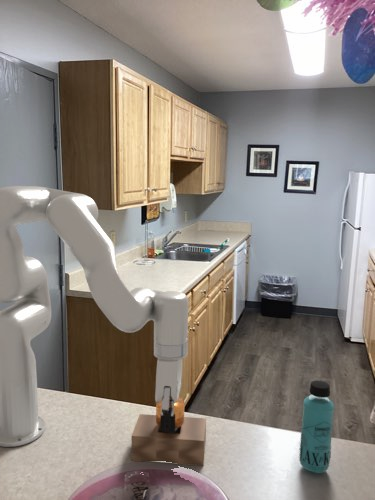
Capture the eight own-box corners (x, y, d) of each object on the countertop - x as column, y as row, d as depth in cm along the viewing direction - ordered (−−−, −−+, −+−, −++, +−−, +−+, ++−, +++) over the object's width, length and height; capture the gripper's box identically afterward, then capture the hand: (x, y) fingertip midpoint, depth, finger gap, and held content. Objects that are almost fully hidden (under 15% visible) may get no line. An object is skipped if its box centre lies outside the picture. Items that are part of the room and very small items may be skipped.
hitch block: (131, 460, 95) (131, 435, 94) (139, 437, 104) (139, 414, 103) (203, 466, 94) (204, 440, 93) (205, 441, 103) (206, 418, 102)
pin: (153, 450, 96) (153, 409, 94) (158, 434, 102) (158, 395, 100) (182, 452, 95) (182, 411, 94) (184, 436, 101) (185, 396, 100)
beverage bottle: (292, 464, 95) (297, 379, 92) (316, 457, 97) (321, 374, 94) (311, 483, 89) (317, 393, 86) (336, 475, 91) (343, 387, 88)
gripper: (160, 333, 104) (159, 402, 107) (146, 362, 87) (146, 443, 90) (190, 334, 103) (189, 404, 106) (183, 364, 86) (182, 446, 89)
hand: (169, 421), depth 98 cm, fingers closed on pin, 6 cm apart
